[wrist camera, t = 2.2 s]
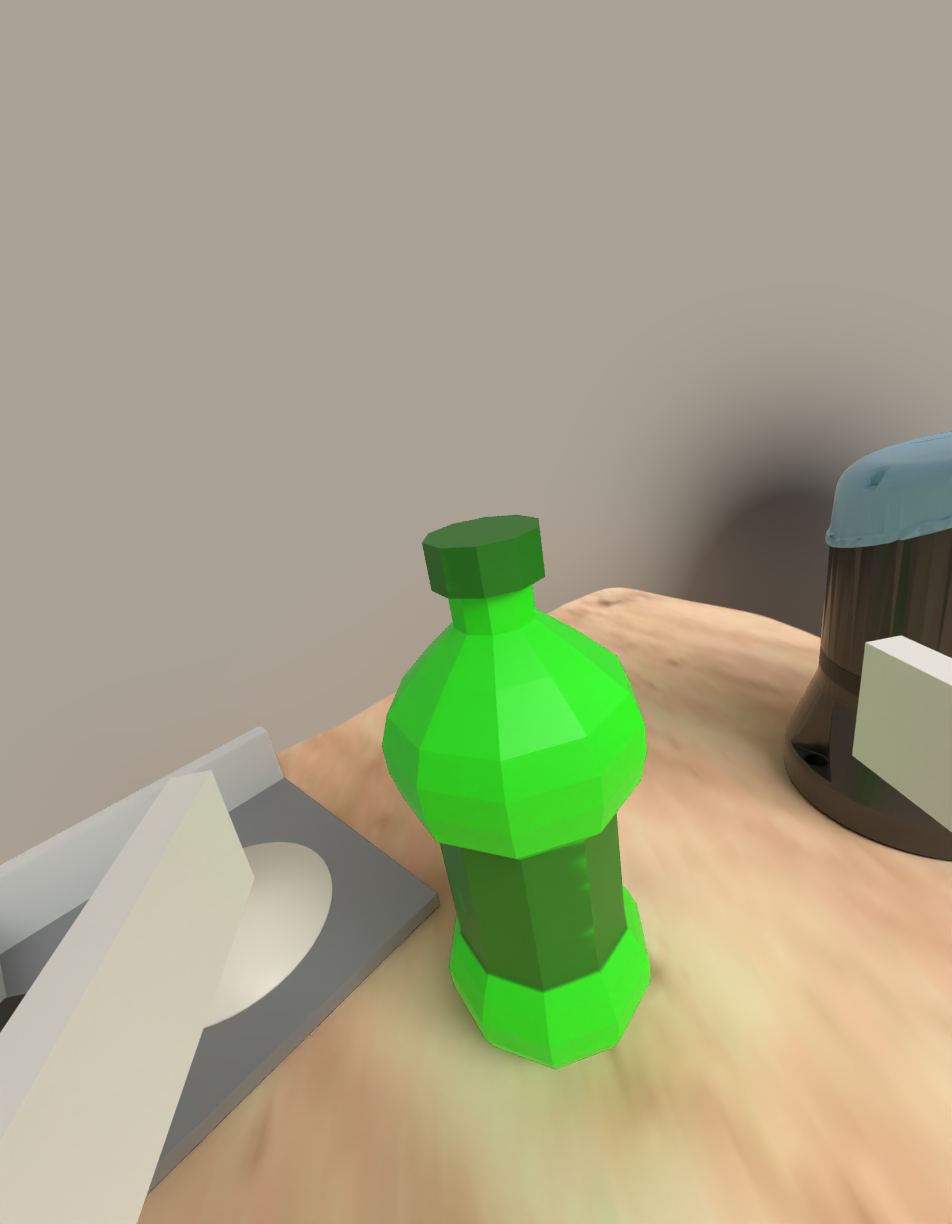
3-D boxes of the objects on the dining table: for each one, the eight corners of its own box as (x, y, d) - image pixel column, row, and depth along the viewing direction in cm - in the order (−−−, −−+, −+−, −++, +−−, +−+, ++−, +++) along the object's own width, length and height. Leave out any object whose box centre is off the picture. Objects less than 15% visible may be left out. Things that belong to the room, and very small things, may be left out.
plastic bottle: (441, 940, 32) (335, 533, 23) (605, 886, 34) (567, 486, 24) (480, 1151, 23) (327, 609, 14) (703, 1063, 24) (700, 525, 15)
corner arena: (279, 780, 49) (259, 725, 47) (440, 904, 34) (421, 832, 32) (-25, 969, 35) (-73, 904, 33) (21, 1319, 20) (-62, 1242, 18)
